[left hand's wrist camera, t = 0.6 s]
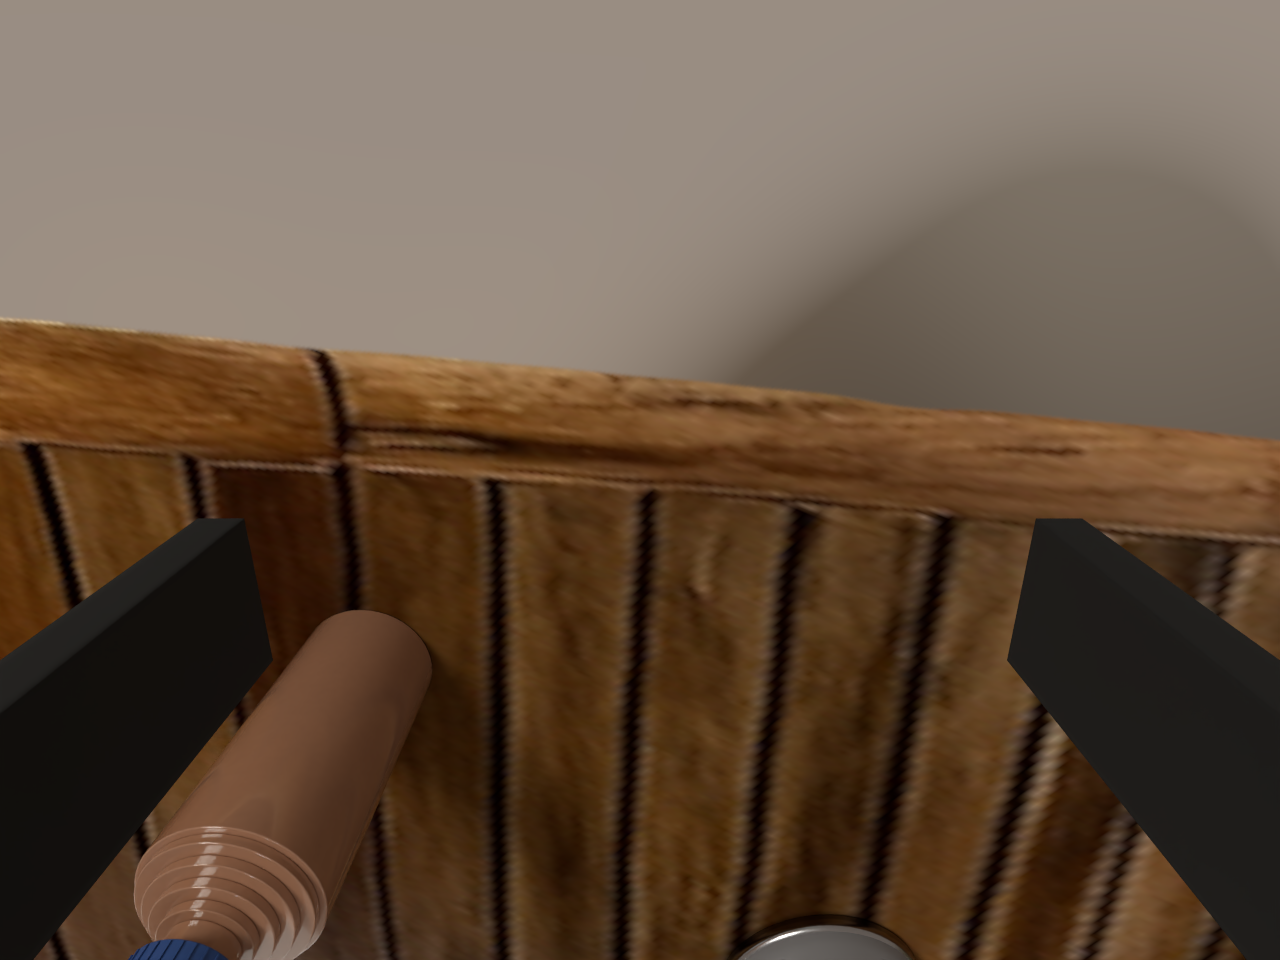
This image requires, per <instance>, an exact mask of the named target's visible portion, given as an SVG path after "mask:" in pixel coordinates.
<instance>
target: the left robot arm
mask: <svg viewBox="0 0 1280 960" xmlns="http://www.w3.org/2000/svg"><path fill="white" fill-rule="evenodd" d="M272 661H273V659H272V654H271V649H270V644H269V639H268V634H267V629H266V624H265V619H264V614H263V609H262V605H261V600H260V595H259V590H258V585H257V580H256V575H255V570H254V565H253V560H252V555H251V550H250V545H249V541H248V536H247V531H246V526H245V521H244V519H197V520H195V521H194V522H192V523H191V524H190V525H188V526H187V527H185V528H184V529H183V530H181V531H180V532H178V533H177V534H176V535H174V536H173V537H172V538H170V539H169V540H167V541H166V542H165V543H163V544H162V545H160V546H159V547H158V548H156V549H155V550H153V551H152V552H151V553H149V554H148V555H146V556H145V557H144V558H142V559H141V560H139V561H138V562H137V563H135V564H134V565H132V566H131V567H130V568H128V569H127V570H125V571H124V572H123V573H121V574H120V575H119V576H117V577H116V578H114V579H113V580H112V581H110V582H109V583H107V584H106V585H105V586H103V587H102V588H100V589H99V590H98V591H96V592H95V593H93V594H92V595H91V596H89V597H88V598H86V599H85V600H84V601H82V602H81V603H79V604H78V605H77V606H75V607H74V608H73V609H71V610H70V611H68V612H67V613H66V614H64V615H63V616H61V617H60V618H59V619H57V620H56V621H54V622H53V623H52V624H50V625H49V626H47V627H46V628H45V629H43V630H42V631H40V632H39V633H38V634H36V635H35V636H33V637H32V638H31V639H29V640H28V641H26V642H25V643H24V644H22V645H21V646H20V647H18V648H17V649H15V650H14V651H13V652H11V653H10V654H8V655H7V656H6V657H4V658H3V659H1V660H0V960H33V959H34V958H35V957H36V956H37V954H38V953H39V952H40V951H41V949H42V948H43V947H44V946H45V944H46V943H47V942H48V941H49V939H50V938H51V937H52V936H53V934H54V933H55V932H56V931H57V929H58V928H59V927H60V926H61V924H62V923H63V922H64V921H65V919H66V918H67V917H68V916H69V914H70V913H71V912H72V911H73V909H74V908H75V907H76V906H77V904H78V903H79V902H80V901H81V899H82V898H83V897H84V896H85V894H86V893H87V892H88V891H89V889H90V888H91V887H92V886H93V884H94V883H95V882H96V881H97V879H98V878H99V877H100V876H101V874H102V873H103V872H104V871H105V869H106V868H107V867H108V866H109V864H110V863H111V862H112V861H113V859H114V858H115V857H116V856H117V854H118V853H119V852H120V851H121V849H122V848H123V847H124V846H125V844H126V843H127V842H128V841H129V839H130V838H131V837H132V836H133V834H134V833H135V832H136V831H137V829H138V828H139V827H140V826H141V824H142V823H143V822H144V821H145V819H146V818H147V817H148V816H149V814H150V813H151V812H152V811H153V809H154V808H155V807H156V806H157V804H158V803H159V802H160V801H161V799H162V798H163V797H164V796H165V794H166V793H167V792H168V791H169V789H170V788H171V787H172V786H173V784H174V783H175V782H176V781H177V779H178V778H179V777H180V776H181V774H182V773H183V772H184V771H185V769H186V768H187V767H188V766H189V764H190V763H191V762H192V761H193V759H194V758H195V757H196V756H197V754H198V753H199V752H200V751H201V749H202V748H203V747H204V746H205V744H206V743H207V742H208V741H209V739H210V738H211V737H212V736H213V734H214V733H215V732H216V731H217V729H218V728H219V727H220V726H221V724H222V723H223V722H224V721H225V719H226V718H227V717H228V716H229V714H230V713H231V712H232V711H233V709H234V708H235V707H236V706H237V704H238V703H239V702H240V701H241V699H242V698H243V697H244V696H245V694H246V693H247V692H248V691H249V689H250V688H251V687H252V686H253V684H254V683H255V682H256V681H257V679H258V678H259V677H260V676H261V674H262V673H263V672H264V671H265V669H266V668H267V667H268V666H269V664H270V663H271V662H272ZM1007 661H1008V662H1009V663H1010V664H1011V666H1012V667H1013V668H1014V669H1015V671H1016V672H1017V673H1018V674H1019V676H1020V677H1021V678H1022V679H1023V681H1024V682H1025V683H1026V684H1027V686H1028V687H1029V688H1030V689H1031V691H1032V692H1033V693H1034V694H1035V696H1036V697H1037V698H1038V699H1039V701H1040V702H1041V703H1042V704H1043V706H1044V707H1045V708H1046V709H1047V711H1048V712H1049V713H1050V714H1051V716H1052V717H1053V718H1054V719H1055V721H1056V722H1057V723H1058V724H1059V726H1060V727H1061V728H1062V729H1063V731H1064V732H1065V733H1066V734H1067V736H1068V737H1069V738H1070V739H1071V741H1072V742H1073V743H1074V744H1075V746H1076V747H1077V748H1078V749H1079V751H1080V752H1081V753H1082V754H1083V756H1084V757H1085V758H1086V759H1087V761H1088V762H1089V763H1090V764H1091V766H1092V767H1093V768H1094V769H1095V771H1096V772H1097V773H1098V774H1099V776H1100V777H1101V778H1102V779H1103V781H1104V782H1105V783H1106V784H1107V786H1108V787H1109V788H1110V789H1111V791H1112V792H1113V793H1114V794H1115V796H1116V797H1117V798H1118V799H1119V801H1120V802H1121V803H1122V804H1123V806H1124V807H1125V808H1126V809H1127V811H1128V812H1129V813H1130V814H1131V816H1132V817H1133V818H1134V819H1135V821H1136V822H1137V823H1138V824H1139V826H1140V827H1141V828H1142V829H1143V831H1144V832H1145V833H1146V834H1147V836H1148V837H1149V838H1150V839H1151V841H1152V842H1153V843H1154V844H1155V846H1156V847H1157V848H1158V849H1159V851H1160V852H1161V853H1162V854H1163V856H1164V857H1165V858H1166V859H1167V861H1168V862H1169V863H1170V864H1171V866H1172V867H1173V868H1174V869H1175V871H1176V872H1177V873H1178V874H1179V876H1180V877H1181V878H1182V879H1183V881H1184V882H1185V883H1186V884H1187V886H1188V887H1189V888H1190V889H1191V891H1192V892H1193V893H1194V894H1195V896H1196V897H1197V898H1198V899H1199V901H1200V902H1201V903H1202V904H1203V906H1204V907H1205V908H1206V909H1207V911H1208V912H1209V913H1210V914H1211V916H1212V917H1213V918H1214V919H1215V921H1216V922H1217V923H1218V924H1219V926H1220V927H1221V928H1222V929H1223V931H1224V932H1225V933H1226V934H1227V936H1228V937H1229V938H1230V939H1231V941H1232V942H1233V943H1234V944H1235V946H1236V947H1237V948H1238V949H1239V951H1240V952H1241V953H1242V954H1243V956H1244V957H1245V958H1246V959H1247V960H1280V660H1279V659H1277V658H1276V657H1274V656H1273V655H1272V654H1270V653H1269V652H1267V651H1266V650H1265V649H1263V648H1262V647H1260V646H1259V645H1258V644H1256V643H1255V642H1254V641H1252V640H1251V639H1249V638H1248V637H1247V636H1245V635H1244V634H1242V633H1241V632H1240V631H1238V630H1237V629H1235V628H1234V627H1233V626H1231V625H1230V624H1228V623H1227V622H1226V621H1224V620H1223V619H1221V618H1220V617H1219V616H1217V615H1216V614H1214V613H1213V612H1212V611H1210V610H1209V609H1207V608H1206V607H1205V606H1203V605H1202V604H1201V603H1199V602H1198V601H1196V600H1195V599H1194V598H1192V597H1191V596H1189V595H1188V594H1187V593H1185V592H1184V591H1182V590H1181V589H1180V588H1178V587H1177V586H1175V585H1174V584H1173V583H1171V582H1170V581H1168V580H1167V579H1166V578H1164V577H1163V576H1161V575H1160V574H1159V573H1157V572H1156V571H1155V570H1153V569H1152V568H1150V567H1149V566H1148V565H1146V564H1145V563H1143V562H1142V561H1141V560H1139V559H1138V558H1136V557H1135V556H1134V555H1132V554H1131V553H1129V552H1128V551H1127V550H1125V549H1124V548H1122V547H1121V546H1120V545H1118V544H1117V543H1115V542H1114V541H1113V540H1111V539H1110V538H1108V537H1107V536H1106V535H1104V534H1103V533H1102V532H1100V531H1099V530H1097V529H1096V528H1095V527H1093V526H1092V525H1090V524H1089V523H1088V522H1086V521H1085V520H1083V519H1036V521H1035V526H1034V531H1033V536H1032V541H1031V545H1030V550H1029V555H1028V560H1027V565H1026V570H1025V575H1024V580H1023V585H1022V590H1021V595H1020V600H1019V605H1018V609H1017V614H1016V619H1015V624H1014V629H1013V634H1012V639H1011V644H1010V649H1009V654H1008V659H1007ZM727 960H915V957H914V955H913V954H912V952H911V951H910V949H909V948H908V947H907V946H906V944H905V943H904V942H903V941H902V940H900V939H899V938H898V937H897V936H896V935H894V934H893V933H891V932H890V931H888V930H886V929H885V928H883V927H881V926H879V925H876V924H874V923H871V922H868V921H865V920H862V919H858V918H853V917H848V916H839V915H814V916H805V917H799V918H794V919H790V920H786V921H783V922H780V923H777V924H774V925H772V926H770V927H767V928H765V929H763V930H761V931H759V932H757V933H756V934H754V935H753V936H751V937H749V938H748V939H747V940H745V941H744V942H743V943H742V944H740V945H739V946H738V947H737V948H736V949H735V950H734V951H733V952H732V953H731V955H730V956H729V957H728V959H727Z"/></svg>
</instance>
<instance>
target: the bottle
mask: <svg viewBox="0 0 1280 960" xmlns="http://www.w3.org/2000/svg"><path fill="white" fill-rule="evenodd" d="M431 678H432V663H431V658H430V655H429V652H428V650H427V648H426V646H425V644H424V643H423V641H422V640H421V638H420V637H419V636H418V635H417V634H416V633H415V632H414V631H413V630H412V629H411V628H410V627H409V626H407V625H406V624H404V623H403V622H402V621H400V620H398V619H396V618H394V617H392V616H389V615H387V614H384V613H380V612H376V611H370V610H352V611H347V612H342V613H339V614H336V615H334V616H332V617H330V618H328V619H326V620H325V621H323V622H322V623H321V624H320V625H319V626H318V627H317V628H316V629H315V630H314V631H313V633H312V634H311V635H310V637H309V638H308V639H307V640H306V642H305V643H304V644H303V646H302V647H301V648H300V650H299V651H298V652H297V654H296V655H295V656H294V658H293V659H292V660H291V662H290V663H289V664H288V665H287V667H286V668H285V669H284V671H283V672H282V673H281V675H280V676H279V677H278V679H277V680H276V681H275V683H274V684H273V685H272V687H271V688H270V689H269V690H268V692H267V693H266V694H265V696H264V697H263V698H262V700H261V701H260V702H259V704H258V705H257V706H256V708H255V709H254V710H253V712H252V713H251V714H250V715H249V717H248V718H247V719H246V721H245V722H244V723H243V725H242V726H241V727H240V729H239V730H238V731H237V733H236V734H235V735H234V737H233V738H232V739H231V741H230V742H229V743H228V744H227V746H226V747H225V748H224V750H223V751H222V752H221V754H220V755H219V756H218V758H217V759H216V760H215V762H214V763H213V764H212V766H211V767H210V768H209V769H208V771H207V772H206V773H205V775H204V776H203V777H202V779H201V780H200V781H199V783H198V784H197V785H196V787H195V788H194V789H193V791H192V792H191V793H190V794H189V796H188V797H187V798H186V800H185V801H184V802H183V804H182V805H181V806H180V808H179V809H178V810H177V812H176V813H175V814H174V816H173V817H172V818H171V819H170V821H169V822H168V823H167V825H166V826H165V827H164V829H163V830H162V831H161V833H160V834H159V835H158V837H157V838H156V839H155V841H154V842H153V843H152V844H151V846H150V847H149V848H148V850H147V851H146V852H145V854H144V855H143V857H142V858H141V860H140V862H139V864H138V867H137V870H136V874H135V881H134V883H135V889H134V903H135V908H136V912H137V914H138V916H139V919H140V921H141V922H142V924H143V926H144V927H145V929H146V931H147V932H148V934H149V936H150V937H151V939H152V941H153V942H155V941H159V940H165V939H183V940H190V941H194V942H198V943H201V944H204V945H206V946H209V947H211V948H213V949H215V950H216V951H218V952H220V953H221V954H223V955H224V956H225V957H226V958H227V959H229V960H293V959H294V958H296V957H297V956H298V955H299V954H301V953H302V952H304V951H305V950H307V949H308V948H309V947H310V946H311V945H312V944H313V943H314V942H315V941H316V940H317V939H318V937H319V936H320V935H321V933H322V931H323V929H324V927H325V925H326V922H327V920H328V918H329V915H330V913H331V911H332V909H333V906H334V904H335V902H336V899H337V897H338V895H339V892H340V890H341V888H342V886H343V883H344V881H345V879H346V876H347V874H348V872H349V869H350V867H351V865H352V863H353V860H354V858H355V856H356V853H357V851H358V849H359V846H360V844H361V842H362V840H363V837H364V835H365V833H366V830H367V828H368V826H369V823H370V821H371V819H372V817H373V814H374V812H375V810H376V807H377V805H378V803H379V800H380V798H381V796H382V794H383V791H384V789H385V787H386V784H387V782H388V780H389V777H390V775H391V773H392V771H393V768H394V766H395V764H396V761H397V759H398V757H399V755H400V752H401V750H402V748H403V745H404V743H405V741H406V738H407V736H408V734H409V732H410V729H411V727H412V725H413V722H414V720H415V718H416V715H417V713H418V711H419V709H420V706H421V704H422V702H423V699H424V697H425V695H426V692H427V690H428V688H429V685H430V682H431Z"/></svg>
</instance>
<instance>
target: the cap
mask: <svg viewBox="0 0 1280 960" xmlns="http://www.w3.org/2000/svg"><path fill="white" fill-rule="evenodd" d="M128 960H229V959H227V958H226V957H225V956H224V955H223V954H221V953H220V952H218V951H216V950H215V949H213V948H211V947H209V946H206V945H204V944H201V943H198V942H194V941H190V940H183V939H165V940H159V941H155V942H152V943H149V944H146V945H145V946H143V947H142V948H140V949H137V951H136V952H135V954H134V955H131V956H130V958H129V959H128Z"/></svg>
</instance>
